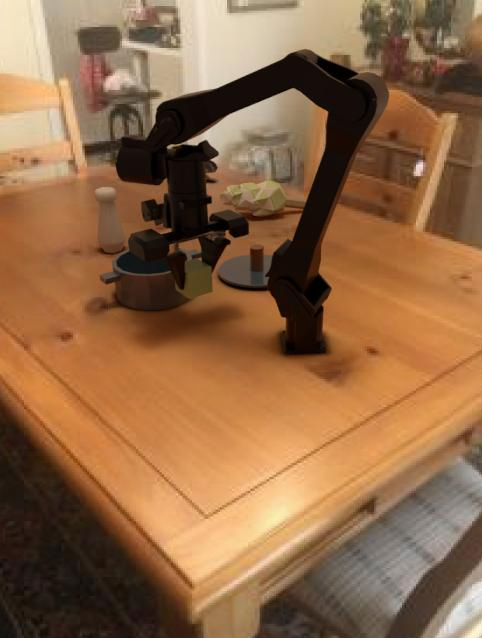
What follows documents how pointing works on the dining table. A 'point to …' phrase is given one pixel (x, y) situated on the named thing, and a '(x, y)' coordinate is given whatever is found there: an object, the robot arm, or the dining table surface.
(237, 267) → the lid
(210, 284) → the block
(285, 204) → the decorative object
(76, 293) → the dining table surface
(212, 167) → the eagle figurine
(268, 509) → the dining table surface
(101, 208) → the salt shaker
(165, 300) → the pot
